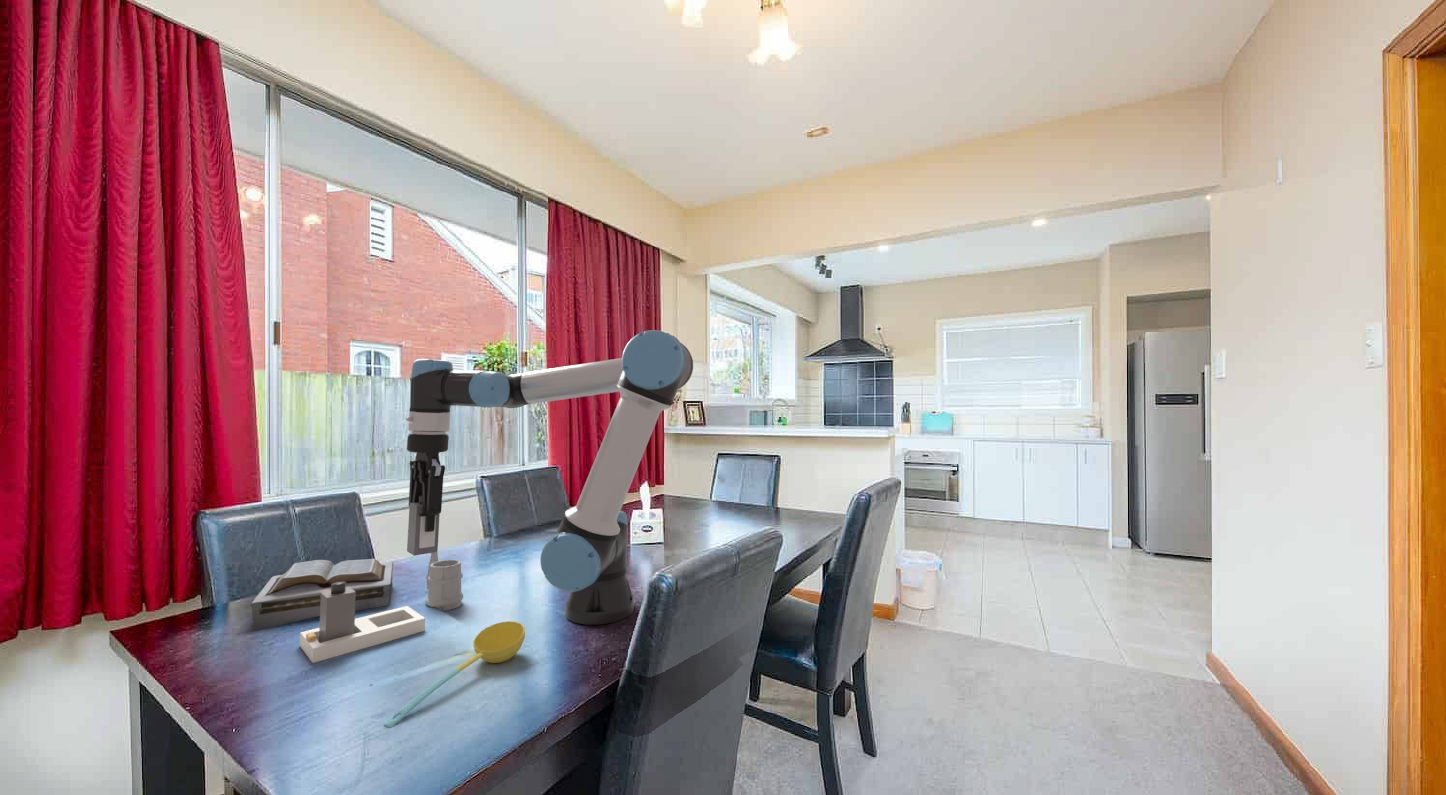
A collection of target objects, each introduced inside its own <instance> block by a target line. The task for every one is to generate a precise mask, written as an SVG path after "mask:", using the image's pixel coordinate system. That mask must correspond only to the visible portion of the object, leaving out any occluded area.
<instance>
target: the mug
mask: <svg viewBox="0 0 1446 795" xmlns="http://www.w3.org/2000/svg"><path fill="white" fill-rule="evenodd" d="M428 563H429V564H428V567H427V573H426V589H427V590H428V592H427V594H428V595H427V597H426V598H425V605H427V606H428V607H430V608H437V609H438V610H439V611H442V612H445V611H446V612H447V611H450V610H451V611H452V610H453V609H456V608H459V607H460V606H461V604H462V600H463V598H464V593H463V591H462V579H463V576H464V575H463V573H462V562H461V560H459V559H444V560H439V552H434V553H430V559H429V562H428Z"/></svg>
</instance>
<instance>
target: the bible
mask: <svg viewBox="0 0 1446 795" xmlns="http://www.w3.org/2000/svg"><path fill="white" fill-rule="evenodd" d="M393 571H394V562H384V563H381V562H379V560H377V559H376V558H369V559H367V558H366V559H353V560H352V559H351V560H350V559H348V560H343V561H339V562H338V563H336V564H334V562H332V561H331V560H328V559H315V560H309V561H308V560H307V561H301V562H295V563H293V564H292V566H290V567H289V569H288V570H287V571H286V572H284V573H283V574H278V575H274V576H271V577H270V579H269V580H268V581H267V582H266V583H265V584H264V587H263V588H262V589H260V591H259V592H258V594H257V596H255V597H254V598H253V601H252V602H250V606H251V613H252V614H251V615H252V616H251V620H252V623H251V626H250V628H251V629H250V632H256V631H257V632H258V631H261V630H265V629H271V628H274V627H278V626H282V625H287V624H291V623H295V622H301V621H304V620H309V619H313V618H317V617H320V601H321V592H325V591H330V590H331V584H333V583H336V582H346V587H350V588H351V589H353V590H354V591H355V592H356V595H355V611H360V610H366V609H372V608H379V607H385V606H390V605H391V603H392V602H391V599H392V593H393V592H392V591H393Z"/></svg>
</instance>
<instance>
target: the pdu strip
mask: <svg viewBox="0 0 1446 795" xmlns="http://www.w3.org/2000/svg"><path fill="white" fill-rule="evenodd" d="M319 628H320V627H316V628H313V629H309V630H305V631H301V632H299V634H300V635H299V648H301V649H302V651H303V652H304V654H305V655H306V657H307V658H308V659H309V661H310V662H311V663H312V664H315V663H318V662H322V661H325V660H329V659H333V658H336V657H340V656H343V655H346V654H349V653H354V652H357V651H360V650H364V649H367V648H370V647H375V646H377V645H381V644H385V643H388V642H391V641H394V640H398V639H402V638H405V637H408V636H412V635H416V634H419V633H421V632H422V633H423V632H425V631H426V617H425V616H423V615H422V614H420V613H418V612H417V611H416V610H415V609H413V608H411V607H410V606H408V605H405V606H402V607H397V608H394V609H389V610H385V611H380V612H377V613H374V614H369V615H365V616H360V617H358V618H357V617H355V624H354V634H352V635H348V636H344V637H341V638H337V639H333V640H330V641H326V642H322V643H319Z"/></svg>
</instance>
